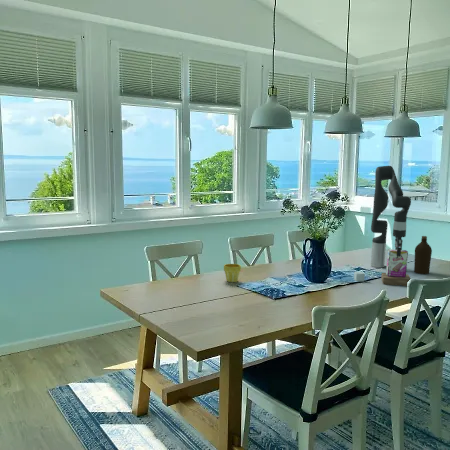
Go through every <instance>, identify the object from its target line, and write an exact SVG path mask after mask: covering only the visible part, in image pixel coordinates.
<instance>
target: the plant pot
mask: <svg viewBox="0 0 450 450" xmlns="http://www.w3.org/2000/svg"><path fill="white" fill-rule="evenodd" d="M241 270H242V266H241V264H237V263H226V264H224V265H223V272H224V274H225V278H226V281H227V282H229V283H237V282H238V280H239V275H240V272H241Z"/></svg>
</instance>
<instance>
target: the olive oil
mask: <svg viewBox="0 0 450 450" xmlns="http://www.w3.org/2000/svg"><path fill="white" fill-rule="evenodd" d="M432 253H433V250H432V247H431V245H430V244H429V243H428V236H426V235H422V236H421V240H420V242H419V243H418V244H416V246H415V247H414V265H413V267H414V268H413V272H414V273H415V274H419V275H429V274H430V267H431V260H432V255H433V254H432Z"/></svg>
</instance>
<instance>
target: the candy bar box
mask: <svg viewBox="0 0 450 450" xmlns="http://www.w3.org/2000/svg"><path fill="white" fill-rule="evenodd" d="M408 254H409V251H408V250H407V249H402V250H401V256H397V250H395V249H393V248H392V249H390V248H388V250H387V258H386V259H387V260H386V271H385V273H386V275H387V276H391V277H406V274H407V268H408V267H407V266H408V258H409V257H408V256H409V255H408Z"/></svg>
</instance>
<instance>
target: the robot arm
mask: <svg viewBox="0 0 450 450" xmlns="http://www.w3.org/2000/svg"><path fill="white" fill-rule="evenodd" d="M374 174H375V175H374V179H375V181H374V183H375V184H374V185H375V186H374V196H373V208H372V209H373V210H372V218H371V225H370V230H371V233H375V234H380V235H379V236H375V237H373V238H372V240H371V241H372V242H371V243H372V244H371V256H370V257H371V260H370V267H373V268H384V267H385V261H386V248H387V247H386V246H387V233H388V224H389V223H388V221H387V220H385V219H379V217H380V216H381V214H382V213H383V212H384V211H385V210H386V209H387V207H388V204H389V194H390V196H391V201H392V206H393V207H394V208H397V209H398V208H399V209H401V210H400V211H399V210H398V211H396V212H394V217H393V224H392V225H393V226H392V236H393V237H394V238H395V239H394V247H395V249H394V250H397V256H401V250H403V239H402V238H406V235H407V219H408V217H407V216H408V212H409V209H410V207H411V205H412V199H411V197H410V196H408V195H407V196H405V195H404V191H403V190H402V188H401V187H400V184H399V182H398V178H397V175H396V172H395V170H394V167H393V166H391V165H383V166H382V165H381V166H378V167H376V168H375V173H374ZM387 180H390V182H389V184H388V186H387V187H388V189H387V190H388V193H389V194H388V193H387V192H386V189H384V187H383V185H382V181H387Z"/></svg>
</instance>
